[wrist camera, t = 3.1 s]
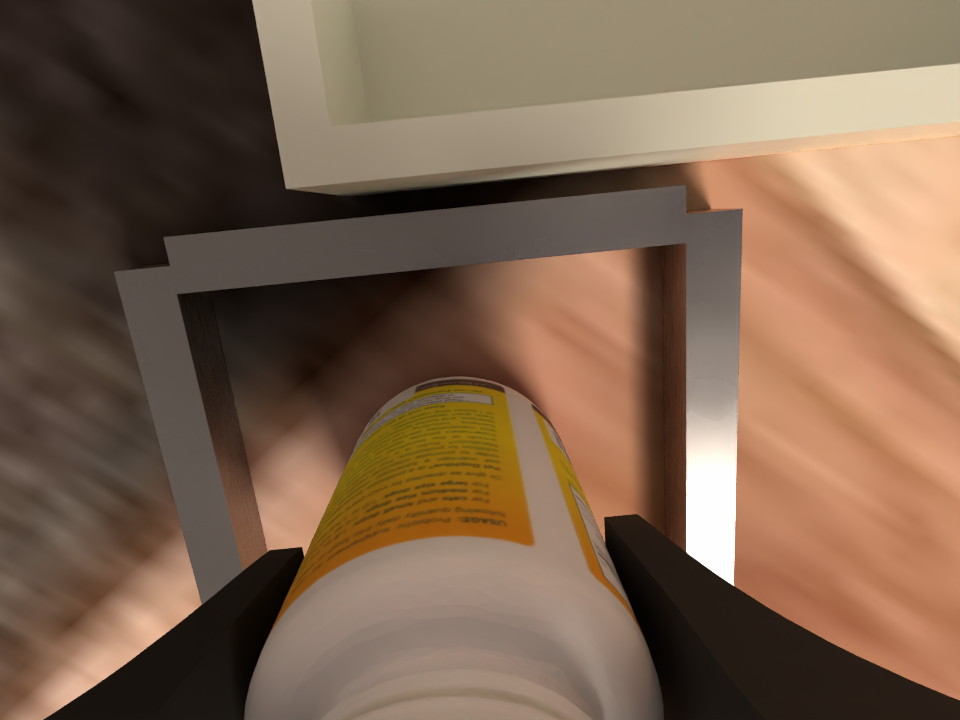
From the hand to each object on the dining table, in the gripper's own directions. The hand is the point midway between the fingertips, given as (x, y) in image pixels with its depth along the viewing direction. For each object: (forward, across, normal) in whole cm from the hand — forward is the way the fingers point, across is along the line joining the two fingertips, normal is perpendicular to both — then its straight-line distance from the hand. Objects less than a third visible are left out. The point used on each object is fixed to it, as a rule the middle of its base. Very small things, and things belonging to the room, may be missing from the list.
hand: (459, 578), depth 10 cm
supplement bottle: (+5, 0, 0) cm, 5 cm away
